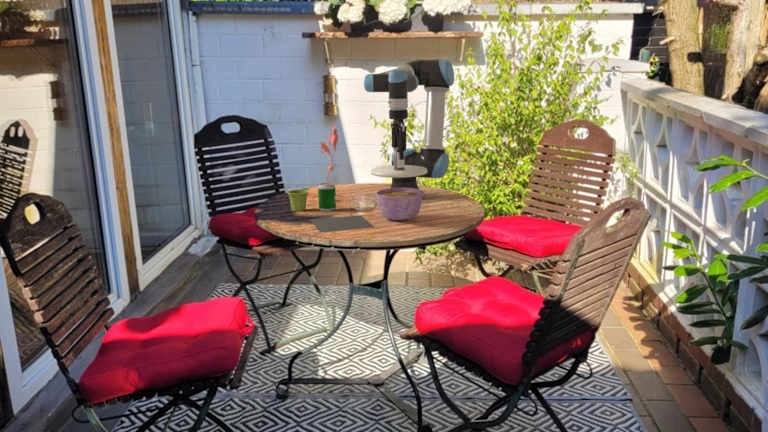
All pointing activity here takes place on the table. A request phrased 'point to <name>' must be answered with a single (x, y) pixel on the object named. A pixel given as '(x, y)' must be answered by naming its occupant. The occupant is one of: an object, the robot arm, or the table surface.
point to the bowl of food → (399, 203)
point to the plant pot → (298, 200)
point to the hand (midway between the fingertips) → (399, 166)
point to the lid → (398, 169)
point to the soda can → (327, 197)
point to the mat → (341, 223)
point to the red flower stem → (325, 148)
